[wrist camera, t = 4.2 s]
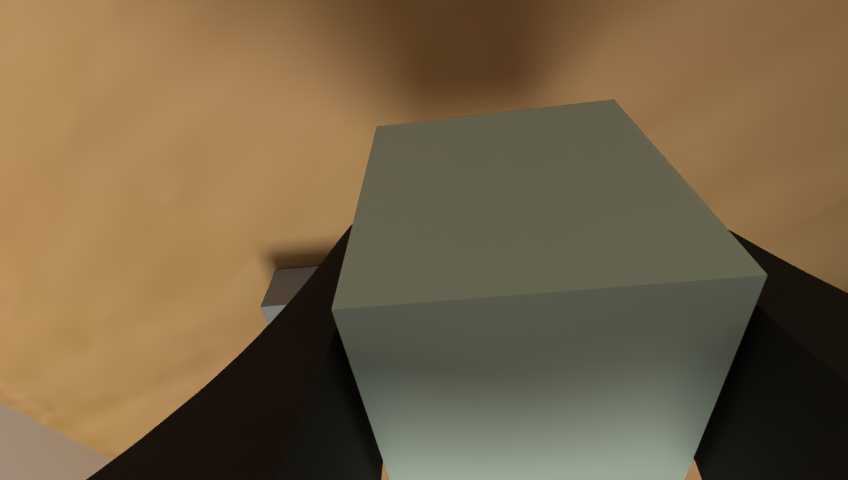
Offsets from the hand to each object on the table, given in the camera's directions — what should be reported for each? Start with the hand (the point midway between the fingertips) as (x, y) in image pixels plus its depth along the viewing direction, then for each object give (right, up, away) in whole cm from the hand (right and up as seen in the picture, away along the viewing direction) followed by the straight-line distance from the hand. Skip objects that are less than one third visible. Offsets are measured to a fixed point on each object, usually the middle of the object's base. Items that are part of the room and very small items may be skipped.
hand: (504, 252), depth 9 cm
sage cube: (0, +1, +1) cm, 1 cm away
